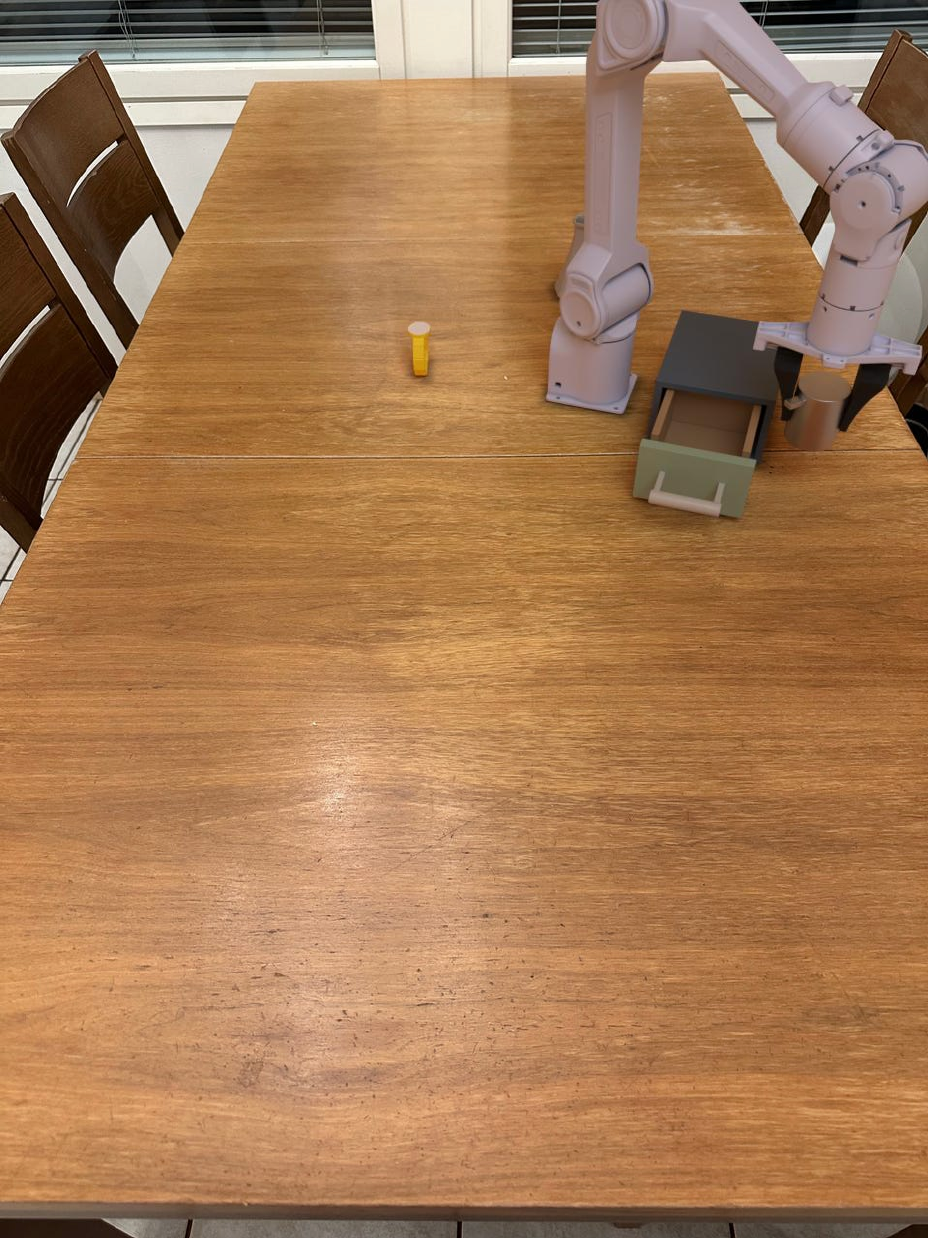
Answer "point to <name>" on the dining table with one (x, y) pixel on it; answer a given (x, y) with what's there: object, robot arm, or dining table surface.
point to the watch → (420, 346)
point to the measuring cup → (816, 410)
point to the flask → (571, 251)
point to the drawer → (699, 454)
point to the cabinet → (719, 367)
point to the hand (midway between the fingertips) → (813, 420)
